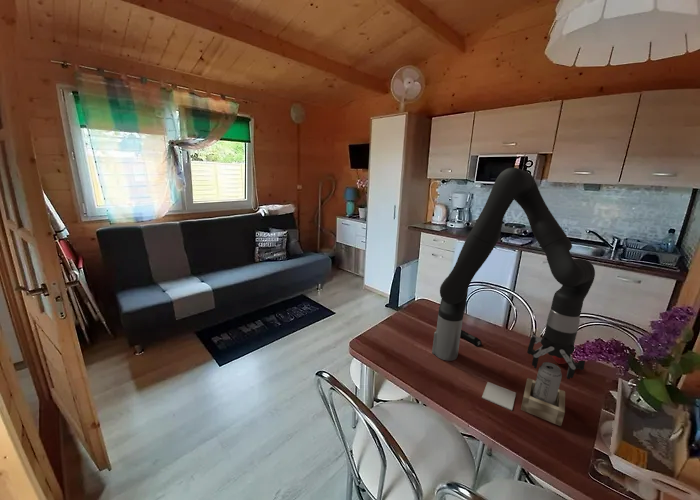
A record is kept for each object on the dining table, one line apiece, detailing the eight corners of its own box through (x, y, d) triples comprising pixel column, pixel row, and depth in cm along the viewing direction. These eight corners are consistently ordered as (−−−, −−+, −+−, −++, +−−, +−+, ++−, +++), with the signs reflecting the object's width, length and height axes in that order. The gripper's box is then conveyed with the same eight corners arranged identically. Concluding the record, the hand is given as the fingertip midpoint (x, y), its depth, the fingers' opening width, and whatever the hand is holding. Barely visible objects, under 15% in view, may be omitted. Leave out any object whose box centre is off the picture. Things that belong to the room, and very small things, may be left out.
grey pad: (481, 397, 100) (481, 396, 100) (487, 382, 107) (487, 381, 107) (511, 410, 95) (512, 409, 95) (515, 393, 102) (516, 392, 102)
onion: (570, 369, 115) (575, 351, 113) (554, 367, 116) (558, 349, 114) (563, 360, 120) (568, 342, 118) (547, 358, 121) (551, 340, 119)
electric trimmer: (452, 329, 142) (453, 323, 141) (482, 345, 129) (483, 338, 129) (447, 331, 140) (448, 325, 139) (476, 347, 127) (477, 341, 127)
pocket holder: (520, 409, 95) (523, 396, 94) (524, 390, 104) (527, 377, 102) (561, 426, 90) (564, 412, 88) (561, 404, 98) (565, 391, 97)
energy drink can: (556, 415, 94) (567, 374, 89) (537, 413, 94) (547, 373, 90) (545, 400, 99) (555, 361, 95) (527, 399, 100) (536, 360, 95)
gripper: (591, 327, 88) (579, 374, 92) (535, 313, 95) (526, 357, 100) (593, 338, 82) (580, 388, 86) (533, 323, 89) (523, 369, 94)
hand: (551, 372), depth 93 cm, fingers open, 8 cm apart
